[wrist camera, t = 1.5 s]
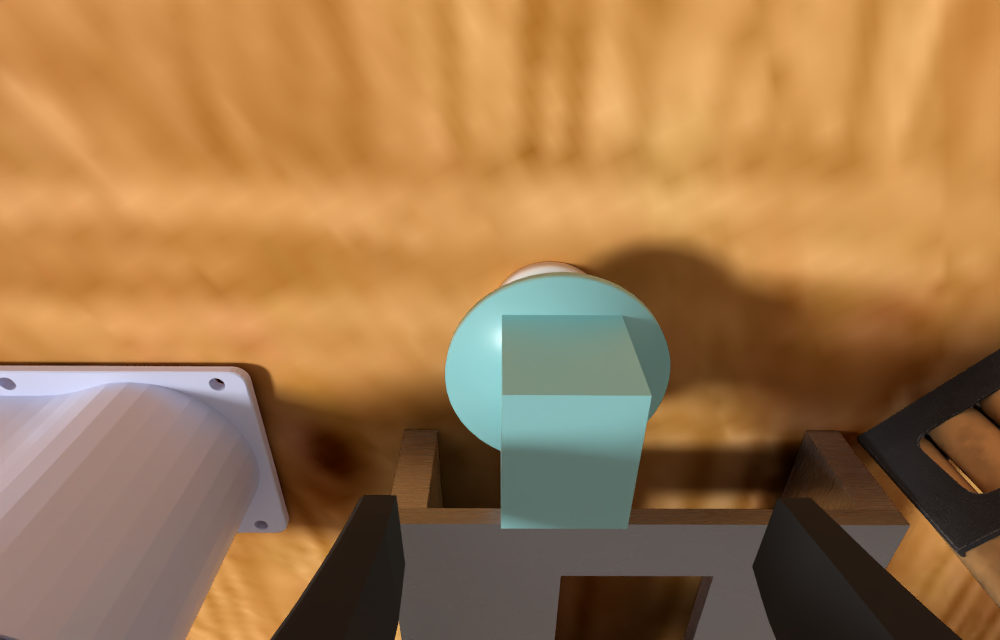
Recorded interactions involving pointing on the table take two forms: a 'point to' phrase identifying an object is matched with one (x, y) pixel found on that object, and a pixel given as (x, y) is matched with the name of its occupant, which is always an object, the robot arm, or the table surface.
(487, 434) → the peg
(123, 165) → the table surface
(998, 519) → the ammunition clip
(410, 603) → the keyhole plate
